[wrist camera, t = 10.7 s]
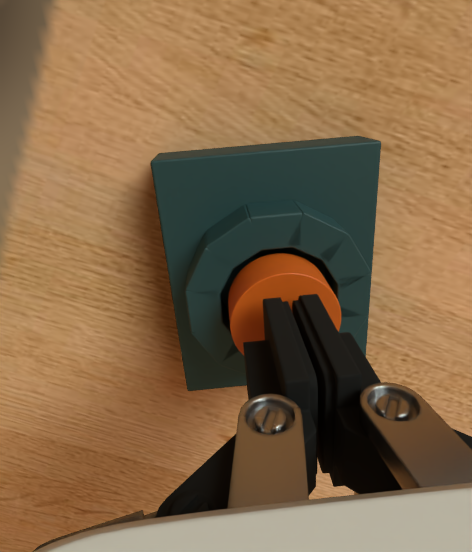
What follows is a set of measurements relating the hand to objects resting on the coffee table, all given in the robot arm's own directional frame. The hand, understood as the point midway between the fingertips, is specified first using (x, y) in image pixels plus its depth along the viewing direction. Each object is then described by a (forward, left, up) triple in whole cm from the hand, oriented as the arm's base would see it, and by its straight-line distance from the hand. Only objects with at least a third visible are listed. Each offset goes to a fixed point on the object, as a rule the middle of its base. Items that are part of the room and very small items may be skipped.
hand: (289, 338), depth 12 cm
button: (0, 0, -2) cm, 2 cm away
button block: (0, 0, -6) cm, 6 cm away
